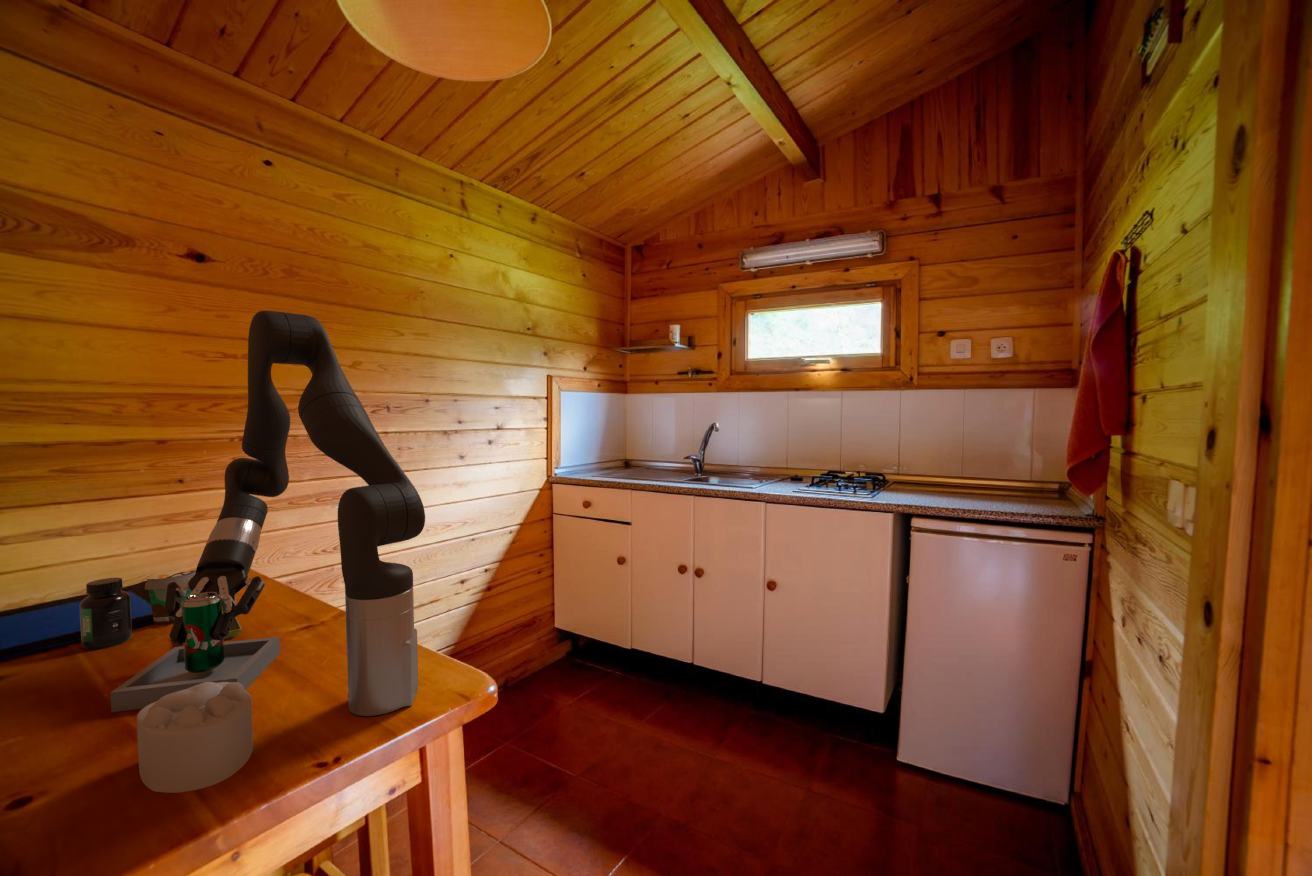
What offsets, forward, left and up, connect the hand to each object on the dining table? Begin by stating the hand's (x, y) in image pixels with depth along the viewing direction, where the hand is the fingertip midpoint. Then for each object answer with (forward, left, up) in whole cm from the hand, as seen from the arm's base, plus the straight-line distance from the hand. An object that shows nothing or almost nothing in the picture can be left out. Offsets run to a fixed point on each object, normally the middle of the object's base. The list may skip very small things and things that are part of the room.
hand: (197, 639), depth 88 cm
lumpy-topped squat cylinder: (-11, +23, -8) cm, 27 cm away
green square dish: (+8, -22, -8) cm, 24 cm away
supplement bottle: (+26, -24, -8) cm, 36 cm away
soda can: (0, -2, -6) cm, 6 cm away
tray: (0, -2, -7) cm, 8 cm away
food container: (+18, -35, -8) cm, 40 cm away
